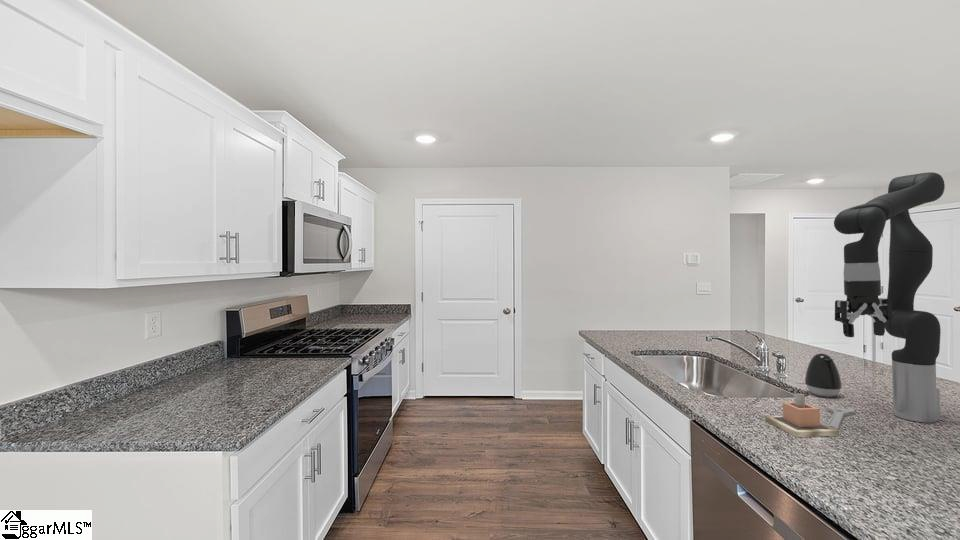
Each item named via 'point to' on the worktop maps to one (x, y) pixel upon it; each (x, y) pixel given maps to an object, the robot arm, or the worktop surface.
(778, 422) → the post plate
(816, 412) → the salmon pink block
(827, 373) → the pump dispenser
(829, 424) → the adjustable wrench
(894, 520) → the worktop surface
